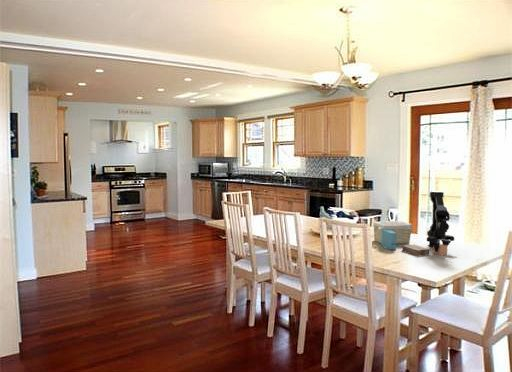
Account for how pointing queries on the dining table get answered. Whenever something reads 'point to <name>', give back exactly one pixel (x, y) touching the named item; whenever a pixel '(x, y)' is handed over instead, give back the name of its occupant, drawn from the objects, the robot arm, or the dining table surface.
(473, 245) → the dining table surface
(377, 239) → the storage basket
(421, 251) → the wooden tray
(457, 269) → the dining table surface
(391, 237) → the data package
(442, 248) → the terracotta cube
